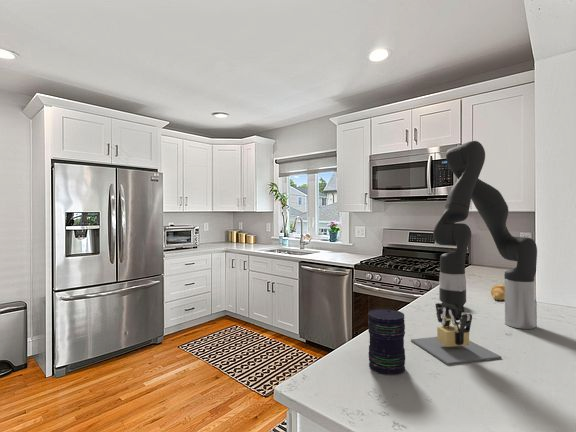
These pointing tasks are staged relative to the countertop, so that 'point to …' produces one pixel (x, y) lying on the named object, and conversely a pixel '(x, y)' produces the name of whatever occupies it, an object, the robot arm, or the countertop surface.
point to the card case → (450, 336)
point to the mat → (455, 351)
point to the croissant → (498, 292)
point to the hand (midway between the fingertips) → (453, 340)
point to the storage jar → (386, 341)
